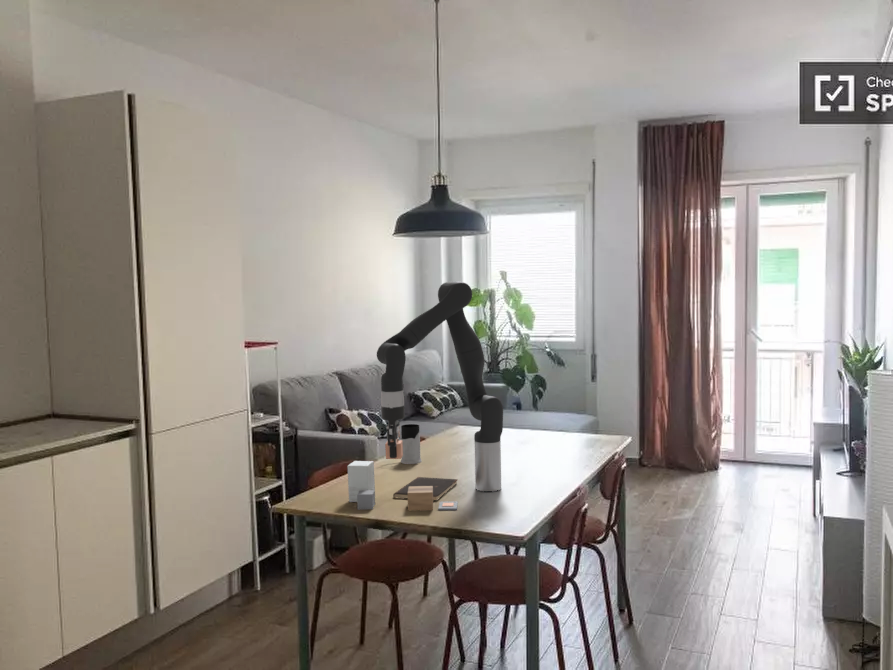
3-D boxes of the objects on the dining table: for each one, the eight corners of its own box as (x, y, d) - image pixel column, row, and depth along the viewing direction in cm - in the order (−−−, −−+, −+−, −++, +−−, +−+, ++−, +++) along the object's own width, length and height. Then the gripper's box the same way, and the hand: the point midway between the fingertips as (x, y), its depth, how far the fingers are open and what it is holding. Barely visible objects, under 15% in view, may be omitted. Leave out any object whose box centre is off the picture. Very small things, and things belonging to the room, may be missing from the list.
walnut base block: (409, 504, 253) (408, 486, 252) (433, 503, 253) (432, 485, 253) (408, 511, 245) (407, 492, 245) (432, 510, 245) (432, 492, 245)
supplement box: (375, 497, 262) (374, 460, 261) (368, 503, 255) (367, 465, 254) (355, 496, 264) (354, 460, 263) (348, 502, 256) (346, 465, 256)
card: (439, 503, 252) (439, 500, 252) (457, 503, 252) (457, 500, 252) (438, 510, 245) (438, 507, 244) (456, 510, 244) (456, 507, 244)
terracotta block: (388, 455, 251) (387, 440, 251) (403, 455, 251) (402, 440, 251) (385, 459, 246) (385, 443, 246) (401, 458, 246) (400, 443, 246)
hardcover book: (457, 485, 277) (457, 479, 277) (437, 502, 255) (437, 495, 255) (416, 483, 282) (416, 476, 282) (393, 499, 260) (393, 492, 260)
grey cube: (360, 505, 253) (359, 490, 252) (375, 505, 252) (374, 490, 252) (357, 509, 248) (357, 494, 247) (372, 509, 247) (372, 494, 247)
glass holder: (420, 463, 311) (420, 427, 310) (386, 464, 311) (385, 428, 310) (422, 459, 319) (421, 423, 318) (388, 459, 320) (387, 424, 319)
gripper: (384, 401, 255) (386, 451, 256) (377, 408, 241) (379, 461, 242) (406, 400, 254) (408, 450, 256) (401, 407, 240) (403, 460, 241)
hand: (394, 455), depth 249 cm, fingers closed on terracotta block, 5 cm apart
